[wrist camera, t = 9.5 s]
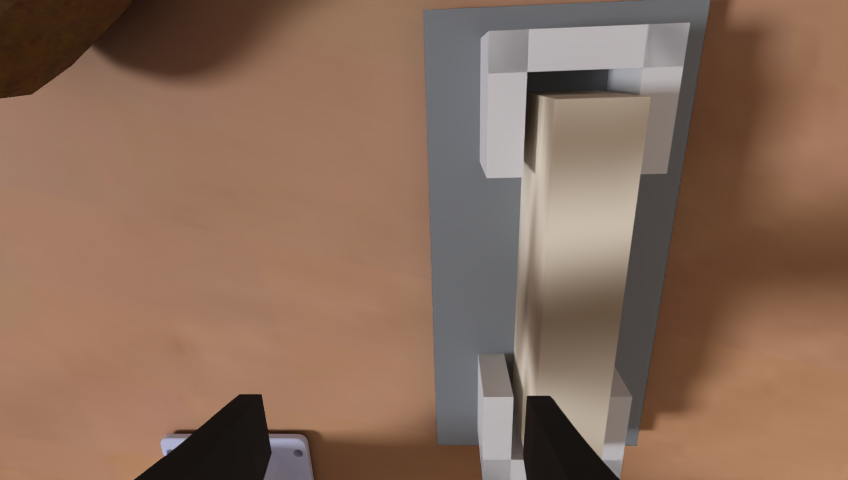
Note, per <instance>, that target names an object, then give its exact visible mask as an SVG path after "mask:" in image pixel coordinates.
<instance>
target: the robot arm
mask: <svg viewBox="0 0 848 480" xmlns="http://www.w3.org/2000/svg"><path fill="white" fill-rule="evenodd" d="M161 448H162V451H163V454H164V457H163V458H162V459H160V460H159V461H158V462H157V463H155V464H154V465H153V466H151V467H150V468H149V469H147V470H146V471H145V472H144V473H142V474H141V475H140V476H138V477H137V478H136V479H134V480H314V477H313V470H312V464H311V458H310V451H309V445H308V440H307V438H306V437H305V436H303V435H301V434H268V429H267V423H266V417H265V412H264V406H263V400H262V395H261V394H240V395H238V396H237V397H236V398H234V399H233V400H232V401H231V402H230V403H228V404H227V405H226V406H225V407H224V408H222V409H221V410H220V411H219V412H218V413H216V414H215V415H214V416H213V417H212V418H211V419H209V420H208V421H207V422H206V423H205V424H204V425H202V426H201V427H200V428H199V429H198V430H196V431H195V432H194V433H193V434H167V435H166V436H165V437H164V438H163V439H162V441H161ZM298 450H300V451H298ZM523 460H524V467H525V473H526V479H527V480H620V479H619V478H618V477H617V476H616V475H615V474H614V473H613V472H612V470H611V469H610V468H609V467H608V466H607V465H606V464H605V463H604V462H603V460H602V459H601V458H600V457H599V456H598V455H597V453H596V452H595V451H594V450H593V449H592V448H591V446H590V445H589V444H588V443H587V442H586V441H585V439H584V438H583V437H582V436H581V434H580V433H579V432H578V431H577V429H576V428H575V427H574V426H573V424H572V423H571V422H570V420H569V419H568V418H567V417H566V415H565V414H564V413H563V411H562V410H561V409H560V407H559V406H558V405H557V403H556V402H555V400H554V399H553V398H552V397H551V396H527V401H526V416H525V430H524V445H523Z"/></svg>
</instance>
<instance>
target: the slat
mask: <svg viewBox="0 0 848 480" xmlns="http://www.w3.org/2000/svg"><path fill="white" fill-rule="evenodd" d="M650 101H651V96H643V95H633V94H624V93H615V92H606V91H597V90H580V91H549V92H526V113H525V137H524V160H523V177H522V179H521V202H520V225H519V248H518V271H517V294H516V317H515V340H514V363H513V386H512V392H513V397H514V398H513V403H514V407H515V412H516V416H517V421H518V426H519V430H520V435H521V440H522V444H523V445H524V430H525V416H526V401H527V396H551V397H552V398H553V399H554V400H555V402H556V403H557V405H558V406H559V407H560V409H561V410H562V411H563V413H564V414H565V415H566V417H567V418H568V419H569V420H570V422H571V423H572V424H573V426H574V427H575V428H576V429H577V431H578V432H579V433H580V434H581V436H582V437H583V438H584V439H585V441H586V442H587V443H588V444H589V445H590V446H591V448H592V449H593V450H594V451H595V452H596V453H597V455H598V456H599V457H600V458H601V459H602V453H603V446H604V438H605V431H606V424H607V416H608V409H609V402H610V394H611V387H612V380H613V372H614V365H615V358H616V350H617V343H618V336H619V328H620V321H621V314H622V306H623V299H624V292H625V284H626V277H627V270H628V262H629V255H630V248H631V240H632V233H633V226H634V218H635V211H636V204H637V196H638V189H639V182H640V174H641V167H642V160H643V152H644V145H645V138H646V130H647V123H648V116H649V108H650Z"/></svg>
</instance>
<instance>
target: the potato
mask: <svg viewBox="0 0 848 480" xmlns="http://www.w3.org/2000/svg"><path fill="white" fill-rule="evenodd" d="M132 1H133V0H0V98H7V97H15V96H23V95H31V94H33V93H34V92H36V91H37V90H38V89H40V88H41V87H43V86H44V85H45V84H47V83H48V82H50V81H51V80H52V79H54V78H55V77H56V76H58V75H59V74H61V73H62V72H63V71H65V70H66V69H67V68H69V67H70V66H72V65H73V64H74V63H75V62H76V61H77V59H78V58H79V57H80V56H81V55H82V54H83V53H84V52H85V51H86V50H87V49H88V48H89V47H90V46H91V45H92V44H93V43H94V42H95V41H96V40H97V39H98V38H99V37H100V36H101V35H102V34H103V33H104V32H105V31H106V30H107V29H108V28H109V27H110V26H111V25H112V24H113V23H114V22H115V21H116V20H117V19H118V18H119V17H120V16H121V15H122V13H123V12H124V11H125V10H126V8H127V7H128V6H129V5H130V3H131V2H132Z"/></svg>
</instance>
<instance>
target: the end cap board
mask: <svg viewBox="0 0 848 480" xmlns="http://www.w3.org/2000/svg"><path fill="white" fill-rule="evenodd" d="M709 6H710V0H641V1H618V2H596V3H573V4H550V5H528V6H505V7H482V8H460V9H437V10H423V13H424V44H425V76H426V107H427V139H428V170H429V202H430V233H431V265H432V296H433V328H434V360H435V391H436V423H437V445H479V450H480V460H481V470H482V480H527V479H526V473H525V467H524V460H523V444H522V440H521V435H520V430H519V426H518V421H517V416H516V412H515V407H514V403H513V398H514V397H513V392H512V386H513V363H514V340H515V317H516V294H517V271H518V248H519V225H520V202H521V179H522V177H523V160H524V137H525V113H526V92H549V91H580V90H597V91H606V92H615V93H624V94H633V95H643V96H651V101H650V108H649V116H648V123H647V130H646V138H645V145H644V152H643V160H642V167H641V174H640V182H639V189H638V196H637V204H636V211H635V218H634V226H633V233H632V240H631V248H630V255H629V262H628V270H627V277H626V284H625V292H624V299H623V306H622V314H621V321H620V328H619V336H618V343H617V350H616V358H615V365H614V372H613V380H612V387H611V394H610V402H609V409H608V416H607V424H606V431H605V438H604V446H603V453H602V460H603V462H604V463H605V464H606V465H607V466H608V467H609V468H610V469H611V470H612V472H613V473H614V474H615V475H616V476H617V477H618V478H619V479H620V473H621V467H622V460H623V454H624V448H625V446H637V440H638V433H639V427H640V421H641V415H642V409H643V403H644V397H645V391H646V385H647V379H648V373H649V367H650V361H651V355H652V349H653V343H654V337H655V331H656V325H657V319H658V313H659V307H660V301H661V295H662V289H663V283H664V277H665V271H666V265H667V259H668V253H669V247H670V241H671V235H672V229H673V223H674V217H675V211H676V205H677V199H678V193H679V187H680V181H681V175H682V169H683V163H684V157H685V151H686V145H687V139H688V133H689V127H690V121H691V115H692V109H693V103H694V97H695V91H696V85H697V79H698V73H699V67H700V61H701V54H702V48H703V42H704V36H705V30H706V24H707V18H708V12H709Z"/></svg>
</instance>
